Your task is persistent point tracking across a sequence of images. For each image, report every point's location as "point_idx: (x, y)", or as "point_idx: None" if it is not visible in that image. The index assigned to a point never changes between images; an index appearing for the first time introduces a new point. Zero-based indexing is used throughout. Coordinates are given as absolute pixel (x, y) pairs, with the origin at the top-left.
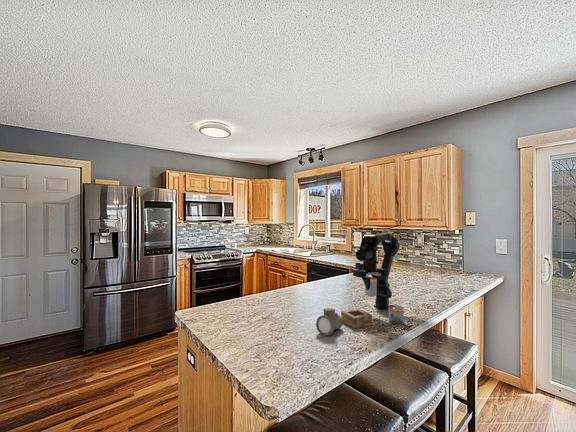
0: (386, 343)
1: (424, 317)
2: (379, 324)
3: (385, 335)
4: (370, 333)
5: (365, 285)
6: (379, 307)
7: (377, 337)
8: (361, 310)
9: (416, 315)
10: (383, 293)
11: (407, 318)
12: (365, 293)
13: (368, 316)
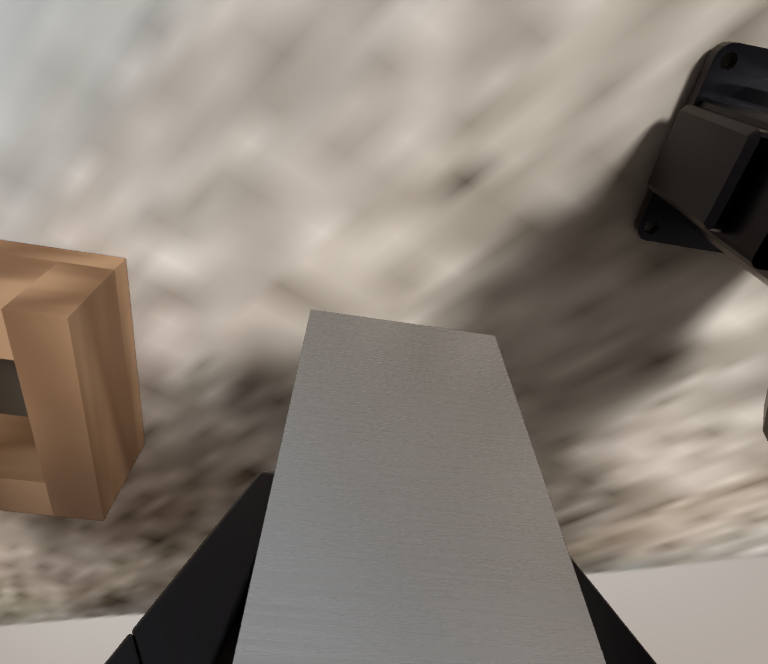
0: (46, 619)
1: (693, 542)
2: (218, 464)
3: (115, 573)
4: (25, 521)
5: (187, 576)
6: (655, 190)
7: (39, 568)
8: (69, 388)
9: (703, 496)
10: (764, 406)
11: (560, 497)
12: (305, 335)
13: (58, 507)
